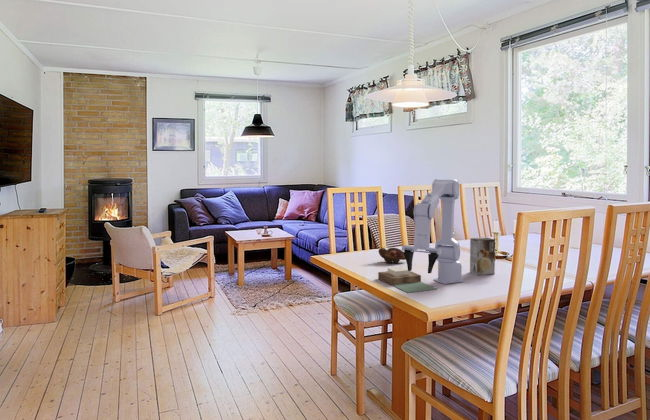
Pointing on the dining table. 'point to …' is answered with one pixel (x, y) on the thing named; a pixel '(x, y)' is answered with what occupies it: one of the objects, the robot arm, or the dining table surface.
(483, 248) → the coffee box
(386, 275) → the walnut step
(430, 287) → the rubber mat
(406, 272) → the coaster
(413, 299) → the dining table surface
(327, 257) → the dining table surface
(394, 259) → the decorative turtle
